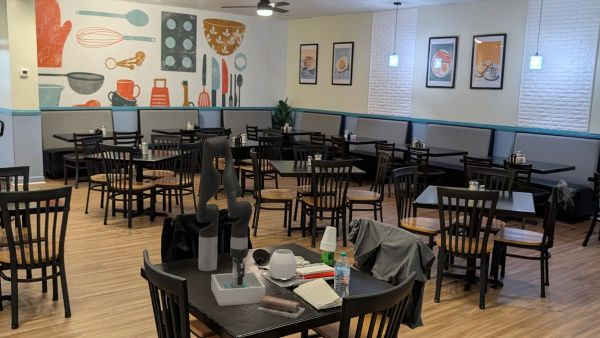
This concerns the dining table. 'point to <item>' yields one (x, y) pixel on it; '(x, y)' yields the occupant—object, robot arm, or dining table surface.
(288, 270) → the white round vase
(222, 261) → the dining table surface
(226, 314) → the dining table surface
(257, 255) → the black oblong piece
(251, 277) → the walled box
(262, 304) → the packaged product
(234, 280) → the grey upright block
